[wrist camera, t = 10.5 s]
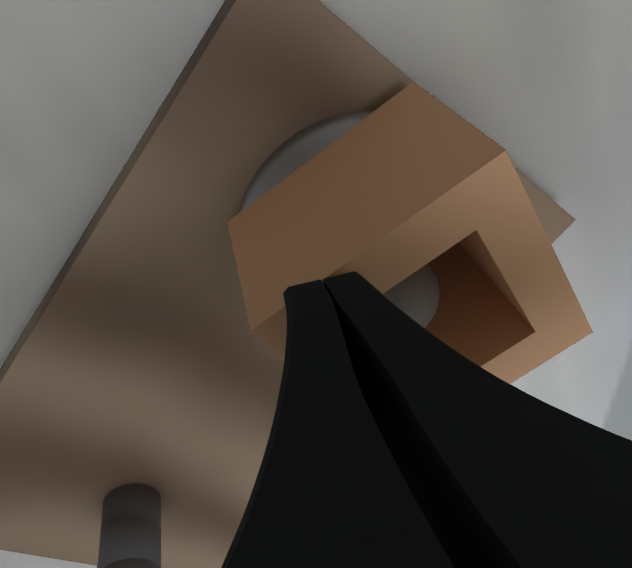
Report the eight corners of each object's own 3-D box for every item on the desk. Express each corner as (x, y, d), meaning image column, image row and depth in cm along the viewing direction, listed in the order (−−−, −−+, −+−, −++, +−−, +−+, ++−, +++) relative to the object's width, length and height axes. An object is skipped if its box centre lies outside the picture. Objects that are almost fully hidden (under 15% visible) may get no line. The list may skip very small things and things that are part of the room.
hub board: (212, 559, 26) (224, 696, 21) (-82, 503, 20) (-149, 677, 16) (554, 202, 19) (675, 298, 14) (256, -50, 13) (307, -19, 8)
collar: (499, 238, 17) (592, 332, 13) (342, 344, 17) (390, 458, 14) (413, 81, 13) (506, 150, 10) (227, 221, 14) (250, 330, 11)
